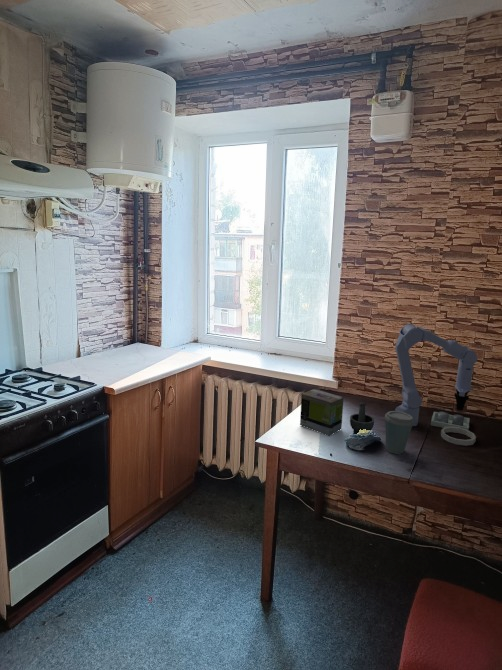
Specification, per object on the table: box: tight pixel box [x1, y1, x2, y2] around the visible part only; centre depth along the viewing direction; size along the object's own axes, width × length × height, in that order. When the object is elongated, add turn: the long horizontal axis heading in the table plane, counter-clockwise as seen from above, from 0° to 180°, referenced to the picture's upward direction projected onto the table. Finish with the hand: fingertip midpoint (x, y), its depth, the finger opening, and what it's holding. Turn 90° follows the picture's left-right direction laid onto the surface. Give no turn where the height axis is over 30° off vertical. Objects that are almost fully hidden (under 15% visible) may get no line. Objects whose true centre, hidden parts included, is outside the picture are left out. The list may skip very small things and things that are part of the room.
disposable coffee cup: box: [384, 410, 414, 455], centre depth 168 cm, size 11×11×15 cm
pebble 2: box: [452, 414, 465, 426], centre depth 192 cm, size 4×4×4 cm
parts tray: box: [430, 411, 470, 431], centre depth 193 cm, size 15×12×3 cm
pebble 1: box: [437, 411, 450, 423], centre depth 194 cm, size 4×4×4 cm
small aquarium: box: [299, 388, 344, 437], centre depth 187 cm, size 15×10×15 cm
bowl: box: [440, 427, 477, 447], centre depth 180 cm, size 12×12×3 cm
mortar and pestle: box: [349, 402, 375, 435], centre depth 183 cm, size 11×9×12 cm
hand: (460, 407), depth 190 cm, fingers open, 7 cm apart
